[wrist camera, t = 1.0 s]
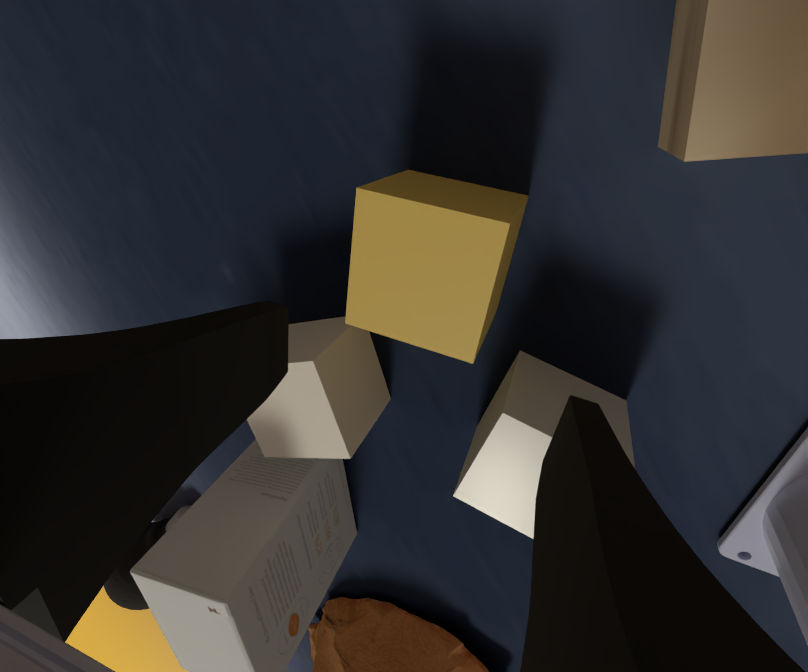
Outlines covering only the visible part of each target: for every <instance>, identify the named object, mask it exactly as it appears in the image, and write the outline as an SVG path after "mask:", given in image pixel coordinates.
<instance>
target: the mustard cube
mask: <svg viewBox="0 0 808 672" xmlns="http://www.w3.org/2000/svg"><path fill="white" fill-rule="evenodd" d="M527 200H528V195H523V194H518V193H514V192H509V191H504V190H500V189H495V188H491V187H486V186H481V185H477V184H472V183H467V182H463V181H458V180H454V179H449V178H444V177H440V176H435V175H431V174H426V173H421V172H417V171H412V170H406V171H403V172H400V173H397V174H394V175H392V176H389V177H386V178H383V179H380V180H377V181H375V182H372V183H369V184H366V185H363V186H360V187H357V189H356V201H355V212H354V224H353V236H352V247H351V259H350V271H349V283H348V294H347V306H346V318H345V324H348V325H352V326H355V327H358V328H361V329H364V330H368V331H371V332H374V333H377V334H380V335H383V336H387V337H390V338H393V339H396V340H399V341H403V342H406V343H409V344H412V345H415V346H418V347H422V348H425V349H428V350H431V351H434V352H437V353H441V354H444V355H447V356H450V357H453V358H457V359H460V360H463V361H466V362H469V363H472V364H473V363H474V360H475V358H476V356H477V354H478V351H479V349H480V347H481V345H482V342H483V340H484V338H485V336H486V333H487V331H488V329H489V327H490V324H491V322H492V320H493V318H494V315H495V313H496V311H497V308H498V304H499V301H500V297H501V293H502V290H503V286H504V283H505V279H506V275H507V272H508V268H509V265H510V261H511V257H512V254H513V250H514V247H515V243H516V239H517V236H518V232H519V228H520V225H521V221H522V218H523V214H524V210H525V207H526V203H527Z"/></svg>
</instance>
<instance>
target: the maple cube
mask: <svg viewBox="0 0 808 672" xmlns="http://www.w3.org/2000/svg"><path fill="white" fill-rule="evenodd" d="M658 147H659V148H661V149H663V150H665V151H666V152H668V153H670V154H672V155H673V156H675V157H677V158H679V159H680V160H682V161H684V162H686V161H700V160H715V159H729V158H743V157H757V156H771V155H786V154H800V153H808V0H676V8H675V16H674V24H673V31H672V39H671V47H670V55H669V63H668V71H667V79H666V87H665V95H664V103H663V111H662V119H661V127H660V134H659V142H658Z"/></svg>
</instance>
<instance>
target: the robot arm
mask: <svg viewBox="0 0 808 672" xmlns="http://www.w3.org/2000/svg"><path fill="white" fill-rule="evenodd" d="M288 335H289V307H286V306H283V305H280V304H276V303H273V302H270V301H266V302H258V303H252V304H247V305H242V306H237V307H232V308H228V309H224V310H219V311H215V312H210V313H206V314H202V315H197V316H193V317H188V318H184V319H179V320H174V321H168V322H163V323H158V324H153V325H148V326H143V327H137V328H131V329H124V330H118V331H110V332H102V333H94V334H85V335H72V336H58V337H44V338H29V339H0V672H115V671H113V670H111V669H110V668H108V667H106V666H104V665H103V664H101V663H99V662H98V661H96V660H94V659H92V658H91V657H89V656H87V655H86V654H84V653H82V652H80V651H79V650H77V649H75V648H74V647H72V646H70V645H69V644H66V643H65V641H66V640H67V638H68V636H69V635H70V633H71V632H72V630H73V629H74V627H75V626H76V624H77V623H78V621H79V620H80V619H81V617H82V616H83V614H84V613H85V611H86V610H87V608H88V607H89V606H90V604H91V602H92V601H93V600H94V598H95V597H96V595H97V594H98V593H99V591H100V590H101V588H102V587H103V585H104V584H105V582H106V581H107V580H108V578H109V577H110V575H111V574H112V573H113V571H114V570H115V569H116V567H117V566H118V565H119V563H120V562H121V561H122V559H123V558H124V557H125V555H126V554H127V553H128V551H129V550H130V549H131V547H132V546H133V545H134V543H135V542H136V541H137V539H138V538H139V537H140V535H141V534H142V533H143V532H144V530H145V529H146V528H147V526H148V525H149V524H150V523H151V521H152V520H153V519H154V518H155V516H156V515H157V514H158V513H159V511H160V510H161V509H162V508H163V506H164V505H165V504H166V503H167V502H168V500H169V499H170V498H171V497H172V496H173V494H174V493H175V492H176V491H177V490H178V489H179V487H180V486H181V485H182V484H183V483H184V482H185V480H186V479H187V478H188V477H189V476H190V474H191V473H192V472H193V471H194V470H195V469H196V468H197V467H198V466H199V465H200V464H201V463H202V462H203V461H204V460H205V459H206V458H207V457H208V456H209V455H210V454H211V453H212V452H213V451H214V450H215V449H216V448H217V447H218V446H219V445H220V444H221V443H222V442H223V441H224V440H225V439H226V438H228V437H229V436H230V435H231V434H232V433H233V432H234V431H235V430H236V429H237V428H238V427H239V426H240V425H241V424H242V423H243V422H244V421H245V420H246V419H247V418H248V417H249V416H251V415H252V414H253V413H254V412H255V411H256V410H257V409H258V408H259V407H260V406H261V405H262V404H263V403H264V402H265V401H266V400H267V398H268V397H269V396H270V395H271V394H272V392H273V391H274V390H275V389H276V387H277V386H278V385H279V383H280V382H281V381H282V379H283V378H284V377H285V375H286V374H287V373H288ZM717 545H718V549H719V552H720V553H721V554H722V555H723V556H725V557H727V558H730V559H733V560H735V561H738V562H741V563H744V564H746V565H749V566H752V567H754V568H757V569H760V570H763V571H765V572H768V573H771V574H773V575H776V576H779V577H780V579H781V581H782V584H783V586H784V589H785V591H786V593H787V596H788V598H789V601H790V603H791V606H792V608H793V611H794V613H795V616H796V618H797V620H798V623H799V625H800V628H801V630H802V633H803V635H804V638H805V640H806V642H807V645H808V428H807V429H806V430H805V431H804V433H803V434H802V435H801V436H800V438H799V439H798V440H797V442H796V443H795V444H794V445H793V447H792V448H791V449H790V450H789V452H788V453H787V454H786V455H785V457H784V458H783V459H782V461H781V462H780V463H779V464H778V466H777V467H776V468H775V469H774V471H773V472H772V473H771V474H770V476H769V477H768V478H767V480H766V481H765V482H764V483H763V485H762V486H761V487H760V488H759V490H758V491H757V492H756V493H755V495H754V496H753V497H752V499H751V500H750V501H749V502H748V504H747V505H746V506H745V507H744V509H743V510H742V511H741V512H740V514H739V515H738V516H737V518H736V519H735V520H734V521H733V523H732V524H731V525H730V526H729V528H728V529H727V530H726V531H725V533H724V534H723V535H722V537H721V538H720V539H719V540H718V543H717ZM741 552H745V553H741ZM520 672H805V671H804V670H803V669H802V668H801V667H800V666H799V665H798V664H797V663H796V662H795V661H793V660H792V659H791V658H790V657H789V656H788V655H787V654H786V653H785V652H784V651H783V650H782V649H781V648H780V647H779V646H778V645H777V644H776V643H775V641H774V640H773V639H772V638H771V637H770V636H769V635H768V634H767V633H766V632H765V631H764V630H763V629H762V628H761V627H760V626H759V625H758V624H757V623H756V622H755V621H754V620H753V619H752V618H751V616H750V615H749V614H748V613H747V612H746V611H745V610H744V609H743V608H742V607H741V606H740V604H739V603H738V602H737V601H736V600H735V599H734V598H733V597H732V596H731V595H730V594H729V592H728V591H727V590H726V589H725V588H724V587H723V586H722V585H721V584H720V582H719V581H718V580H717V579H716V578H715V577H714V576H713V574H712V573H711V572H710V571H709V570H708V569H707V567H706V566H705V565H704V564H703V563H702V561H701V560H700V559H699V558H698V556H697V555H696V554H695V553H694V551H693V550H692V549H691V548H690V546H689V545H688V544H687V543H686V541H685V540H684V539H683V538H682V536H681V535H680V534H679V533H678V531H677V530H676V529H675V527H674V526H673V525H672V523H671V522H670V521H669V519H668V518H667V516H666V515H665V514H664V512H663V511H662V509H661V508H660V506H659V505H658V503H657V502H656V501H655V499H654V498H653V496H652V495H651V493H650V492H649V490H648V489H647V487H646V486H645V484H644V483H643V481H642V479H641V478H640V476H639V475H638V473H637V472H636V470H635V468H634V467H633V465H632V463H631V462H630V460H629V458H628V457H627V455H626V453H625V451H624V450H623V448H622V446H621V444H620V442H619V441H618V439H617V437H616V435H615V433H614V431H613V430H612V428H611V426H610V424H609V422H608V420H607V419H606V417H605V415H604V413H603V411H602V409H601V408H600V406H599V404H598V403H595V402H592V401H589V400H585V399H582V398H579V397H576V396H573V395H570V396H569V398H568V401H567V403H566V406H565V408H564V411H563V413H562V415H561V418H560V420H559V423H558V425H557V427H556V430H555V432H554V435H553V437H552V439H551V442H550V444H549V447H548V449H547V452H546V454H545V456H544V459H543V462H542V467H541V473H540V478H539V483H538V489H537V495H536V503H535V521H534V540H533V560H532V580H531V597H530V608H529V618H528V624H527V631H526V638H525V644H524V651H523V657H522V664H521V670H520Z"/></svg>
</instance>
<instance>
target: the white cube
mask: <svg viewBox="0 0 808 672" xmlns="http://www.w3.org/2000/svg"><path fill="white" fill-rule="evenodd" d="M345 318H346V316H345V317H338V318H331V319H324V320H316V321H309V322H302V323H295V324H289V335H288V373H287V374H286V375H285V377H284V378H283V379H282V381H281V382H280V383H279V385H278V386H277V387H276V389H275V390H274V391H273V392H272V394H271V395H270V396H269V397H268V398H267V400H266V401H265V402H264V403H263V404H262V405H261V406H260V407H259V408H258V409H257V410H256V411H255V412H254V413H253V414H252V415H251V416H249V417H248V418H247V421H248V423H249V425H250V427H251V429H252V431H253V433H254V436H255V438H256V440H257V442H258V444H259V446H260V448H261V450H262V453H263V455H264V457H281V458H331V459H351V458H352V456H353V455H354V453H355V452H356V450H357V449H358V447H359V446H360V444H361V443H362V441H363V440H364V438H365V437H366V435H367V434H368V432H369V431H370V429H371V428H372V426H373V425H374V423H375V422H376V420H377V419H378V417H379V416H380V414H381V413H382V411H383V410H384V408H385V407H386V405H387V404H388V402H389V401H390V399H391V397H390V394H389V391H388V388H387V385H386V382H385V379H384V376H383V373H382V370H381V367H380V364H379V360H378V357H377V354H376V351H375V348H374V345H373V342H372V339H371V336H370V333H369V331H368V330H364V329H361V328H358V327H355V326H352V325H348V324H345Z"/></svg>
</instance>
